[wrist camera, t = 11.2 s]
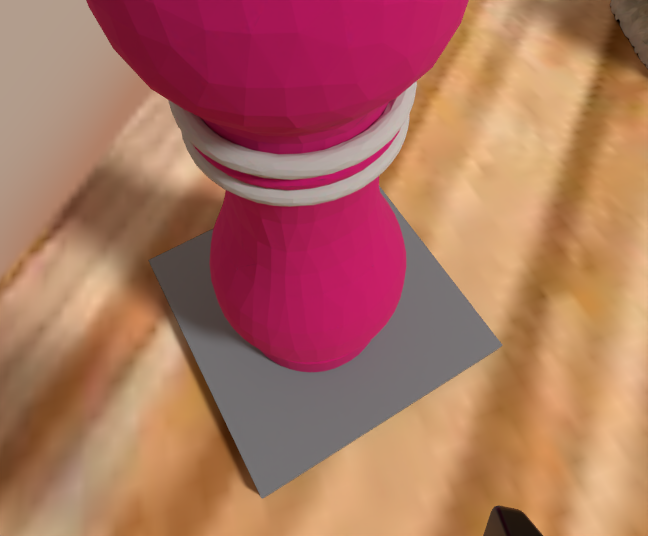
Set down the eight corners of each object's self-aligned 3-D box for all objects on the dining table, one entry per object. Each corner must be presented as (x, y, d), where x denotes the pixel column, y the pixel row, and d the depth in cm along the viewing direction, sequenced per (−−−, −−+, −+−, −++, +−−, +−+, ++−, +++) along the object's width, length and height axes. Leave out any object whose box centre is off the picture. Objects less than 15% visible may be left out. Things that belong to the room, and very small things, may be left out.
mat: (264, 497, 19) (261, 498, 18) (154, 267, 23) (148, 260, 22) (496, 349, 21) (502, 345, 21) (356, 167, 26) (357, 158, 25)
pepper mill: (208, 280, 22) (-344, -670, 4) (338, 213, 24) (375, -695, 5) (279, 417, 19) (-425, -586, 1) (421, 332, 21) (1042, -681, 3)
